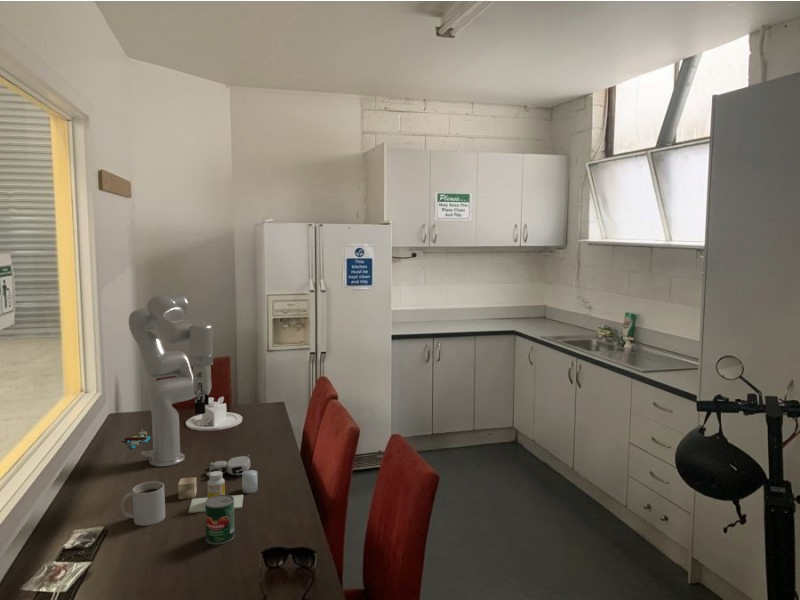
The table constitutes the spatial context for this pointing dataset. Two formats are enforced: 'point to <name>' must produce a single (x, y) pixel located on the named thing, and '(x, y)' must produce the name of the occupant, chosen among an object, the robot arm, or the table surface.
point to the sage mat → (199, 503)
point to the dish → (214, 417)
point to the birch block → (187, 488)
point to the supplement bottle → (215, 484)
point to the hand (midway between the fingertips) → (202, 409)
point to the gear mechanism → (139, 438)
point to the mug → (147, 503)
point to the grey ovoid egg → (249, 481)
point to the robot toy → (231, 465)
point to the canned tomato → (219, 519)
